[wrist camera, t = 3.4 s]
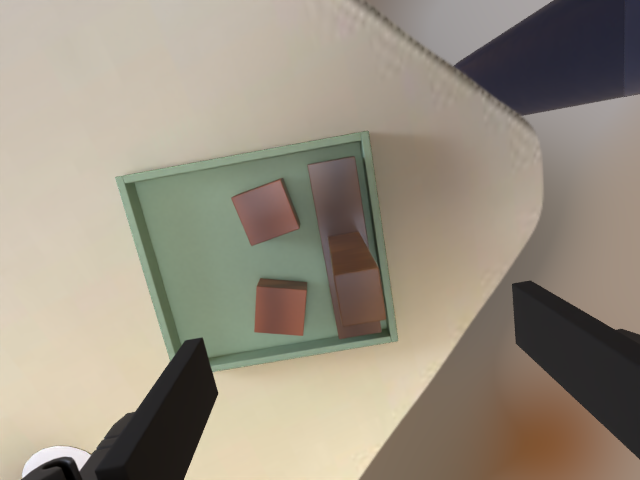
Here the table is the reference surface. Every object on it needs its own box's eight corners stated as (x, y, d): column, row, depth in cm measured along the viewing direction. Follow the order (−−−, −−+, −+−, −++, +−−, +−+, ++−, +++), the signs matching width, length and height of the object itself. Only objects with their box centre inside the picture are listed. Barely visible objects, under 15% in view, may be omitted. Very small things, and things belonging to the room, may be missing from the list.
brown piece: (351, 155, 29) (374, 156, 18) (376, 318, 32) (409, 407, 21) (307, 163, 29) (302, 170, 18) (337, 325, 32) (348, 417, 21)
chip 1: (282, 177, 29) (280, 179, 27) (300, 224, 30) (299, 228, 28) (236, 194, 30) (230, 197, 28) (255, 240, 30) (251, 246, 28)
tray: (365, 132, 29) (368, 130, 27) (393, 330, 33) (398, 341, 31) (127, 175, 30) (114, 177, 28) (183, 365, 33) (175, 378, 31)
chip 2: (307, 281, 31) (306, 290, 29) (303, 325, 32) (303, 336, 30) (260, 278, 31) (256, 286, 29) (257, 321, 32) (254, 332, 30)
